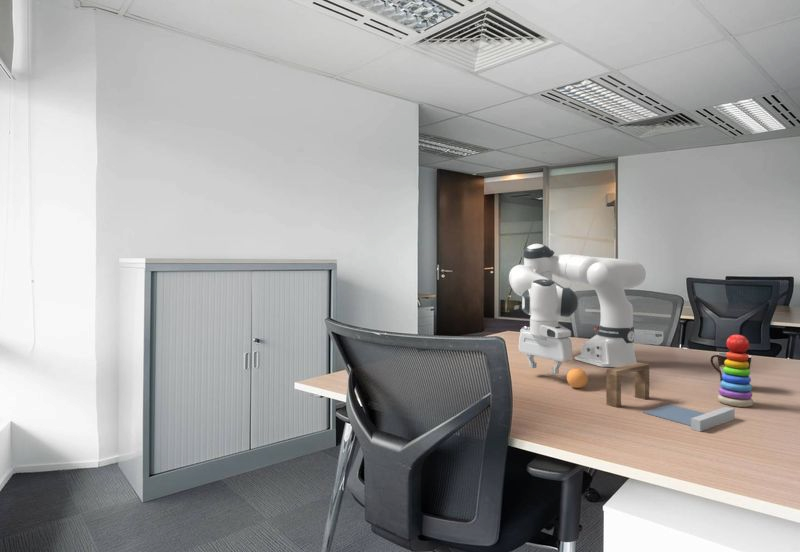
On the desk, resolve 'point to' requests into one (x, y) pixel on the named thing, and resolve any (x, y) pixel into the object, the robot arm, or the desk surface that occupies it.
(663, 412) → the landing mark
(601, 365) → the robot arm
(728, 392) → the stacking toy
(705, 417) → the stopper wall
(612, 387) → the bridge
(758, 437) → the desk surface
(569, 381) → the ball
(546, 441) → the desk surface
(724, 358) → the coffee mug
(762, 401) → the desk surface
